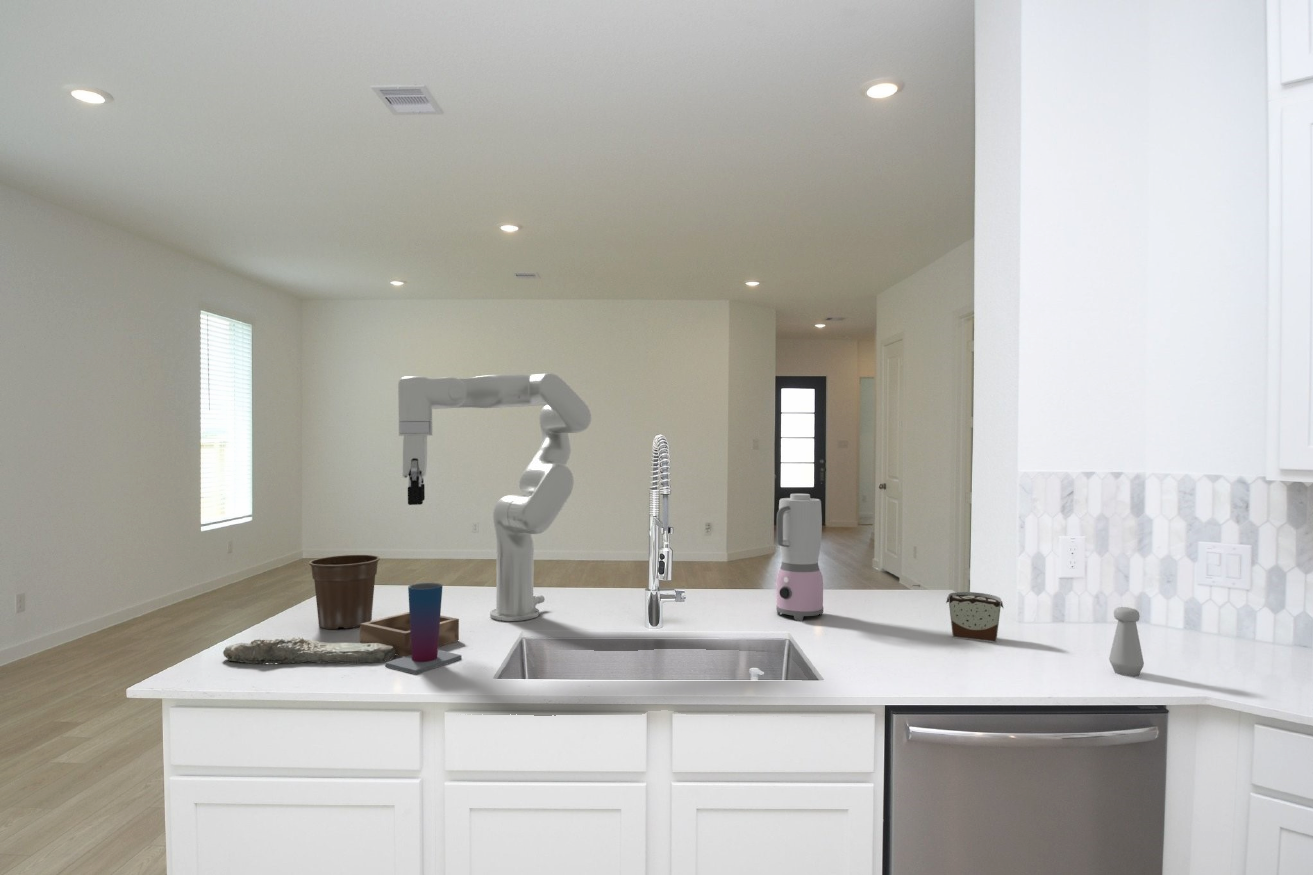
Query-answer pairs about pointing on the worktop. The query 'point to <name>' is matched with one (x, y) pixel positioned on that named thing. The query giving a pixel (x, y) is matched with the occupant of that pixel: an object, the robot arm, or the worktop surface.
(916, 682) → the worktop surface
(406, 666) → the slate mat
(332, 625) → the plant pot
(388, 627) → the open wooden box
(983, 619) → the food container
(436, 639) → the cup
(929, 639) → the worktop surface
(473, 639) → the worktop surface
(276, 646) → the long grey stone
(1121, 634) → the salt shaker
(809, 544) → the blender
